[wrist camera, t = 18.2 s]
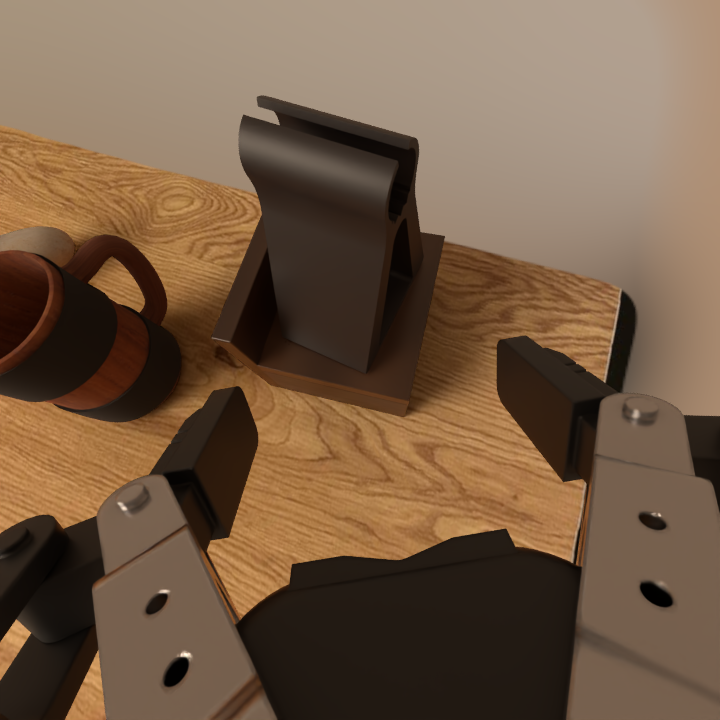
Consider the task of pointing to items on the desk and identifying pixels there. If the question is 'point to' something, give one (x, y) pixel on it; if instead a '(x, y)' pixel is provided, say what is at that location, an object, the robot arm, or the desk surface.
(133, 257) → the mug
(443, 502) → the desk surface
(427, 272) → the shelf
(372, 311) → the phone stand
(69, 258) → the stone
